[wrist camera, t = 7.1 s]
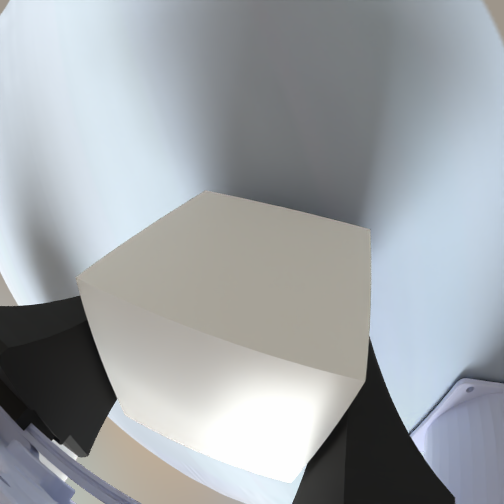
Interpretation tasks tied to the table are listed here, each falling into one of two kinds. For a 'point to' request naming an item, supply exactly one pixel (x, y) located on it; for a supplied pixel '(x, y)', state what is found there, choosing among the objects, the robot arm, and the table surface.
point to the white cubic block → (236, 328)
